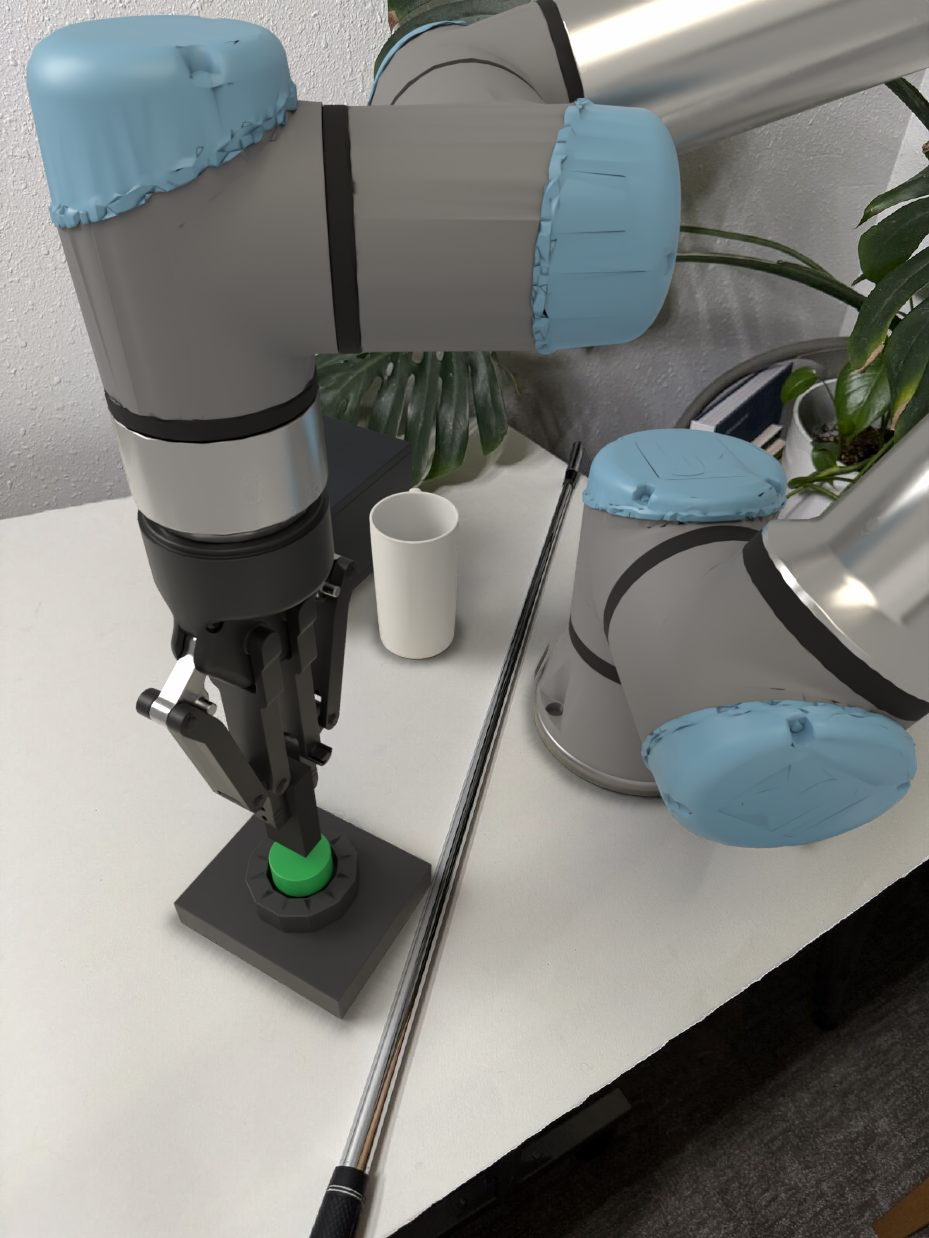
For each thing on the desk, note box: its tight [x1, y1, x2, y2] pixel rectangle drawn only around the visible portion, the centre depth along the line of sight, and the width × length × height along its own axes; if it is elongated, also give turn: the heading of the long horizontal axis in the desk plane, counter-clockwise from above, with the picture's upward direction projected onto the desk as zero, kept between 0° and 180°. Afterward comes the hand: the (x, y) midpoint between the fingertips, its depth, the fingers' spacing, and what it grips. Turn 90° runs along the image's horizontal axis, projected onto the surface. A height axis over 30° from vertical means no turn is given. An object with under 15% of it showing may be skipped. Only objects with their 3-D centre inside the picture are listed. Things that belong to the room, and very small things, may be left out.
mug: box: [370, 487, 460, 660], centre depth 71 cm, size 10×7×12 cm, turn 2°
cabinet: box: [322, 414, 414, 590], centre depth 79 cm, size 16×14×10 cm
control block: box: [173, 806, 433, 1020], centre depth 54 cm, size 12×10×4 cm
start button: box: [269, 834, 333, 897], centre depth 52 cm, size 4×4×2 cm
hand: (294, 837), depth 50 cm, fingers closed
